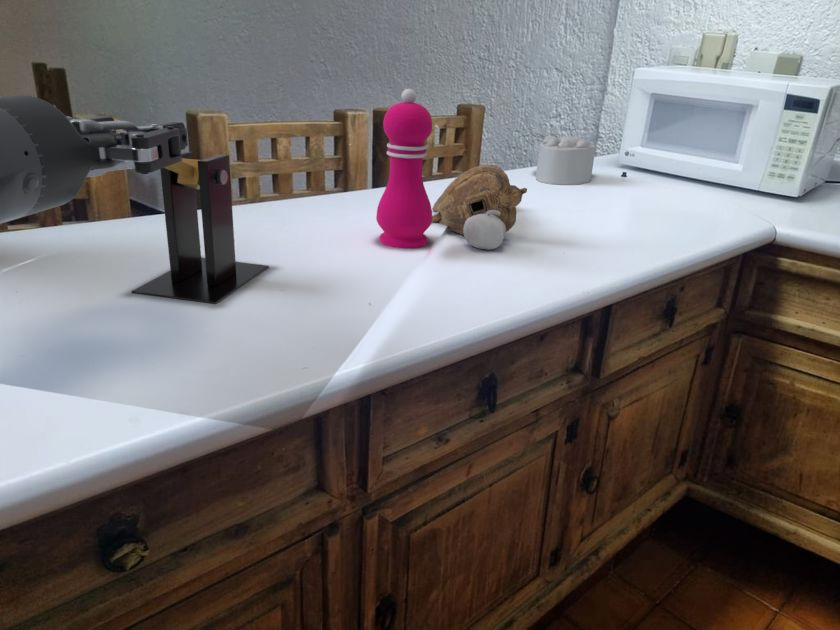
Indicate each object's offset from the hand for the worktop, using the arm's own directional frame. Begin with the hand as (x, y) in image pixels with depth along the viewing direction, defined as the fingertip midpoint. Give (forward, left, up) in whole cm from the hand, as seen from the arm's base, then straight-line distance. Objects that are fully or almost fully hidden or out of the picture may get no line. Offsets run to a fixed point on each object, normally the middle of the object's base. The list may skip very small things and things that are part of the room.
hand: (146, 132), depth 56 cm
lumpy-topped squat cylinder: (+35, +92, -17) cm, 100 cm away
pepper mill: (+16, +29, -17) cm, 37 cm away
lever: (0, +2, -4) cm, 4 cm away
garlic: (+26, +34, -17) cm, 46 cm away
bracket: (0, +7, -17) cm, 18 cm away
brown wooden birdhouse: (+24, +49, -17) cm, 57 cm away
